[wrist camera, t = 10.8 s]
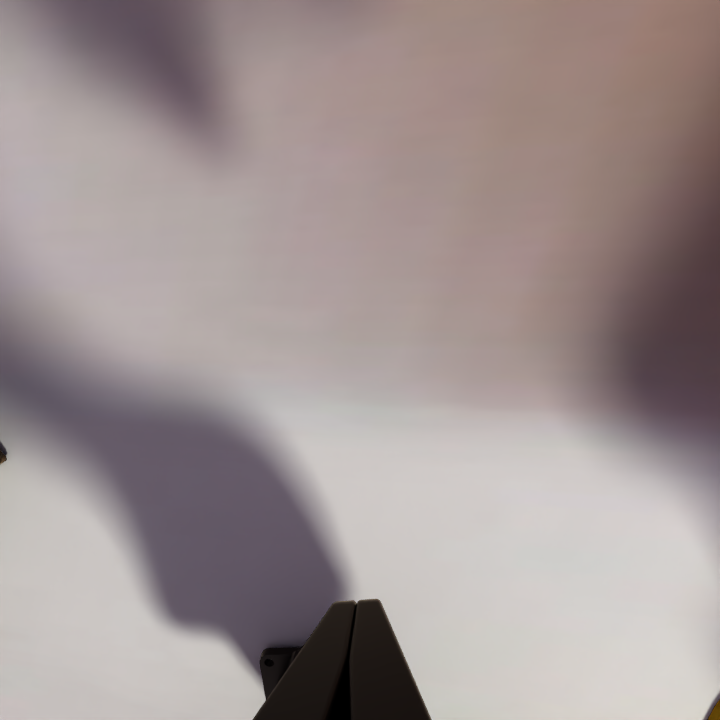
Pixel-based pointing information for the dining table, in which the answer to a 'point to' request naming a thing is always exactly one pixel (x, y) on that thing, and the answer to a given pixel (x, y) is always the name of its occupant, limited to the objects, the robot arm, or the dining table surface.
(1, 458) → the beverage carton
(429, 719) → the robot arm
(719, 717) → the figurine
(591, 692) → the dining table surface
